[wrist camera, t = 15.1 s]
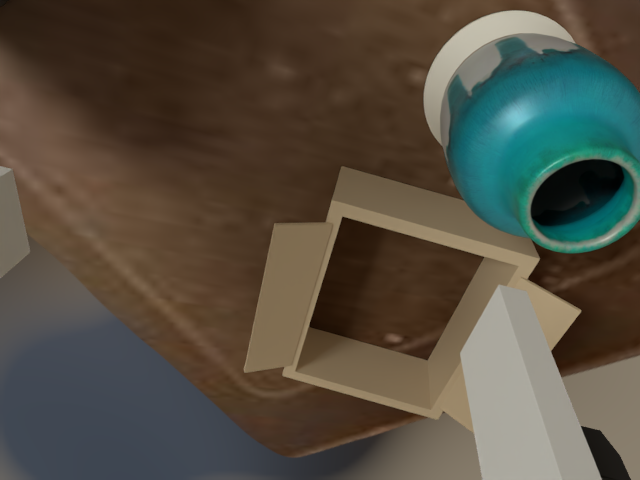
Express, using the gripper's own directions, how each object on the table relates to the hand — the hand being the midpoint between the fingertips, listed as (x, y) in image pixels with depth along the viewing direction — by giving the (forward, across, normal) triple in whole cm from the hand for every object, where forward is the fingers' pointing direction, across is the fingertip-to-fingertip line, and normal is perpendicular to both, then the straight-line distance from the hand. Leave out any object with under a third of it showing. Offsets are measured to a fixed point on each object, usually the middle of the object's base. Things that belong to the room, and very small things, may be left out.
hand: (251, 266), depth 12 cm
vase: (+28, +13, 0) cm, 31 cm away
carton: (+29, +11, -21) cm, 37 cm away
